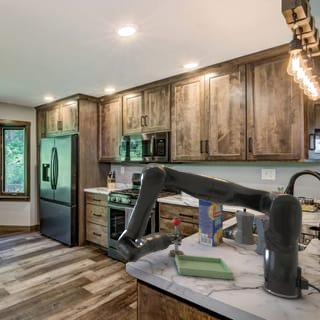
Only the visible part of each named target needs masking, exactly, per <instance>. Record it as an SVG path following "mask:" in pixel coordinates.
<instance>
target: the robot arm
mask: <svg viewBox="0 0 320 320" xmlns="http://www.w3.org/2000/svg"><path fill="white" fill-rule="evenodd" d="M139 187H140V188H139V192H138V197H137V200H136V202H135V204H134V207H133V209H132V211H131V213H130V216H129V219H128V222H127V224H126V228H125V229H124V231H123V232H122V233H121V235H120V236H119V238H118V240H117V241H116V244H115V248H116V251H117V252H118V254H120V255H121V256H122V257H123V258H124V259H125V260H126V261H127V262H129V263H137V262H138V261H139V260H141V259H142V258H143V257H145V256H146V255H148V254H152V253H157V252H161V251H164V250H168V249H169V247H170V246H171V245H175V243H177V244H178V247H181V246H182V241H183V239H184V234H183V233H179V232H178V235H175V233H169V232H164V231H158V232H153V233H149V234H147V235H145V231H146V230H147V226H148V223H149V221H150V217H151V214H152V211H153V208H154V206H155V203H156V201H157V199H158V197H159V196H160V194H161V192H162V190H163V189H164V188H168V189H173V190H177V191H178V192H181V193H183V194H186V195H188V196H190V197H191V198H194V199H197V200H198V201H199V200H202V201H206V202H210V203H214V204H219V205H223V206H225V207H236V208H237V207H238V208H243V209H244V208H245V209H248V210H251V211H255V212H257V213H261V214H262V215H267V216H269V227H268V229H265V230H264V255H263V274H262V276H261V278H262V280H263V284H262V285H263V286H262V287H263V289H264V290H265V291H266V292H268V294H271V295H274V296H277V297H279V298H283V299H284V298H285V299H297V298H302V296H303V295H302V293H303V292H302V290H303V291H309V289H310V288H311V289H314V290H315V291H317V292H318V293H320V288H318V287H317V286H315V285H313V284H311V283H309V282H310V281H309V280H308V279H307V278H305V277H304V276H303V274H302V267H301V266H299V239H300V237H301V235H302V230H303V205H302V203H301V201H300V200H299V198H298V197H296V196H294V195H292V194H289V193H285V192H282V191H274V190H264V189H259V188H258V189H257V188H252V187H248V186H244V185H242V184H239V183H236V182H233V181H230V180H227V179H223V178H220V177H215V176H211V175H205V174H200V173H195V172H189V171H182V170H178V169H175V168H172V167H170V166H169V167H168V166H166V165H163V164H160V163H157V162H156V163H155V162H152V163H148V164H146V165H145V166H144V167H143V168H142V170H141V174H140V186H139ZM132 239H133V240H135V241H133V240H132ZM309 287H310V288H309Z"/></svg>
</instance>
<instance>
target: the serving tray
mask: <svg viewBox="0 0 320 320" xmlns="http://www.w3.org/2000/svg"><path fill="white" fill-rule="evenodd" d="M174 261H175V264H176V267H177V272H178V274H179V275H181V276H192V277H203V278H213V279H222V280H223V279H224V280H232V281H233V280H234V272H233V271H232V270H231V268H230V267H229V266H228V264H227V263H226V262H225V261H224V259H223V258H222V257H211V256H198V255H187V254H184V255H176V254H175V257H174Z"/></svg>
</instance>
